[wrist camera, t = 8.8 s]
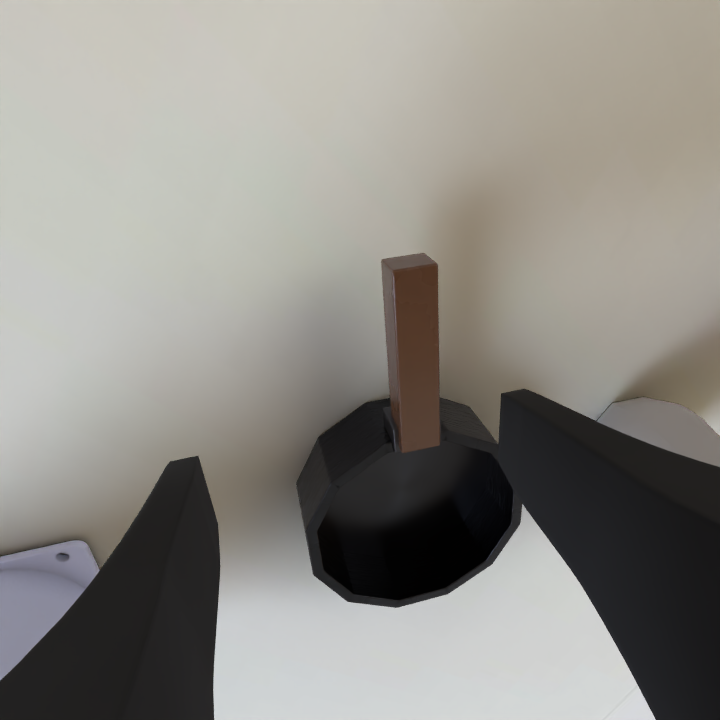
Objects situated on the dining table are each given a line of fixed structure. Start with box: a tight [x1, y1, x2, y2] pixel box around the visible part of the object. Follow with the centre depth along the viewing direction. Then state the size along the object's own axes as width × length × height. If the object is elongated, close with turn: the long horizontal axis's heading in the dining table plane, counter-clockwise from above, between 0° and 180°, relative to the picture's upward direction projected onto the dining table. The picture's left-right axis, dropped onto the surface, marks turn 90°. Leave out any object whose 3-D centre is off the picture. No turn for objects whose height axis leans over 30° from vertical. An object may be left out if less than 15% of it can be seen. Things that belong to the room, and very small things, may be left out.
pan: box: [296, 253, 522, 608], centre depth 23 cm, size 17×10×4 cm, turn 5°
